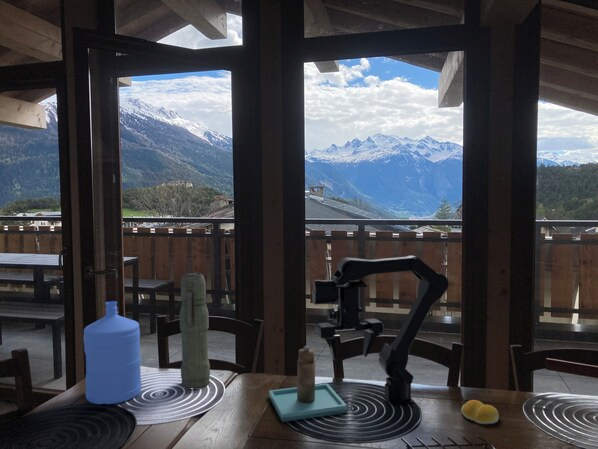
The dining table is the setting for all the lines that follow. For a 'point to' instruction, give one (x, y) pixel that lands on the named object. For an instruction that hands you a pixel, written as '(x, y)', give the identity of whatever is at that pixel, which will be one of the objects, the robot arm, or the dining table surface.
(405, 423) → the dining table surface
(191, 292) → the thermos
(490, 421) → the bread roll
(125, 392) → the water jug
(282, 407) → the teal tray
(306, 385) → the pepper mill
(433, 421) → the dining table surface
